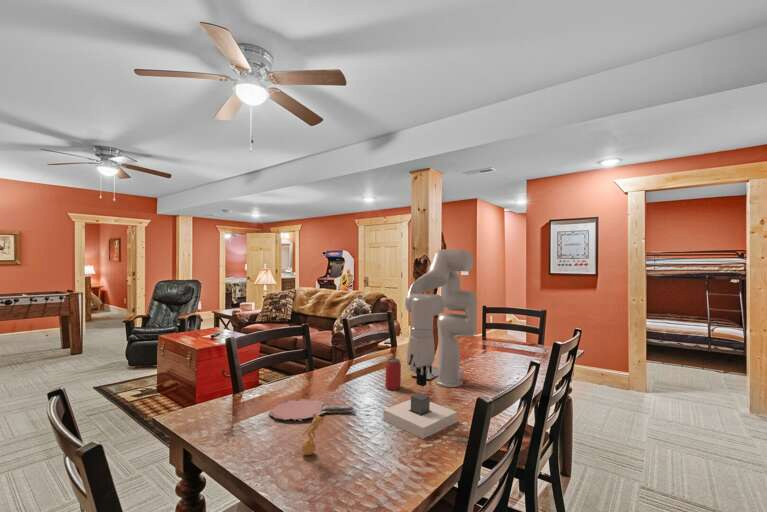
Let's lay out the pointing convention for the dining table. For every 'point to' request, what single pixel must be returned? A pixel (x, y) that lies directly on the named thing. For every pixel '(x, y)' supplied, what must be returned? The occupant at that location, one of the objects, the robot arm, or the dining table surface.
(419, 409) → the plug
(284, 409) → the table tennis paddle
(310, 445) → the figurine
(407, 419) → the socket
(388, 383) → the beer can
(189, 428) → the dining table surface
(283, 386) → the dining table surface
